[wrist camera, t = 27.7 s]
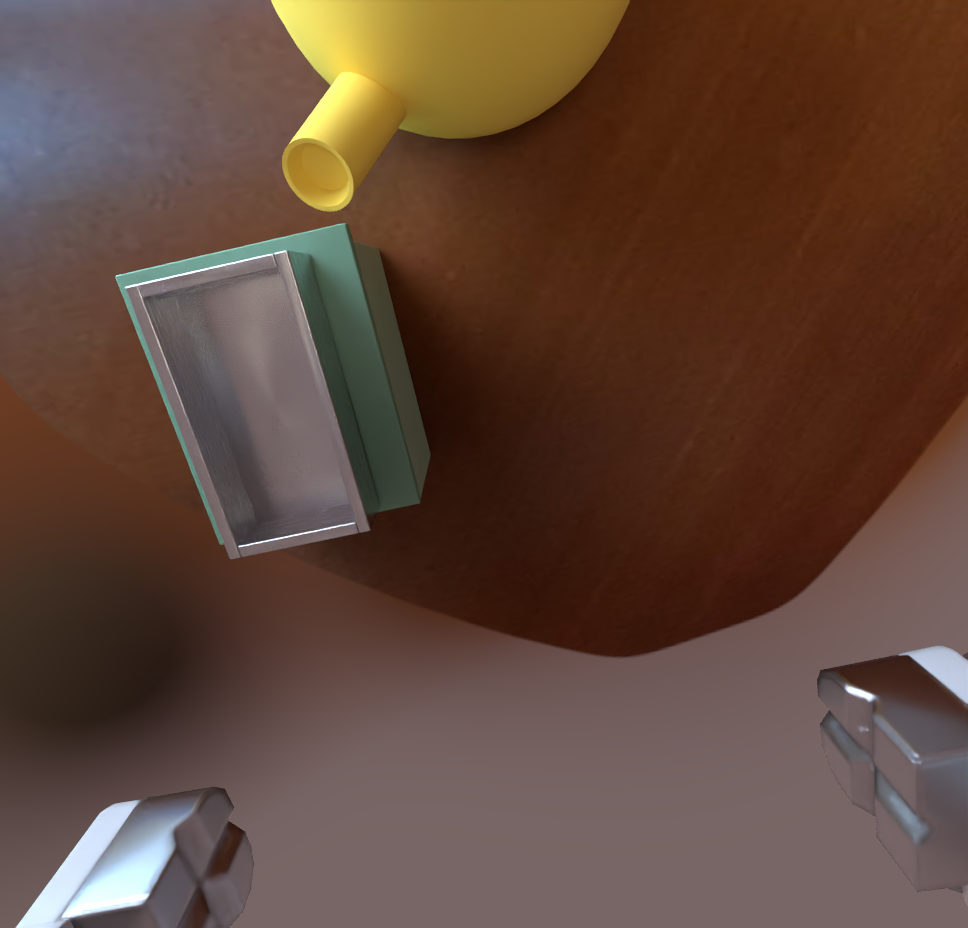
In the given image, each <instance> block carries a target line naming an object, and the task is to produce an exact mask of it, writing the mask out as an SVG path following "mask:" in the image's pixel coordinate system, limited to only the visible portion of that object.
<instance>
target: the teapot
mask: <svg viewBox="0 0 968 928" xmlns="http://www.w3.org/2000/svg"><path fill="white" fill-rule="evenodd" d="M271 1H272V3H273V5H274V8H275V10H276V12H277V14H278V15H279V17H280V18H281V20H282V22H283V23H284V25H285V27H286V28H287V30H288V32H289V33H290V35H291V37H292V38H293V40H294V42H295V43H296V45H297V46H298V48H299V49H300V50H301V52H302V53H303V54H304V56H305V57H306V58H307V60H308V61H309V62H310V63H311V65H312V66H313V67H314V69H315V70H316V71H317V72H318V73H319V74H320V75H321V76H322V77H323V78H324V79H325V80H326V81H327V82H328V83H329V84H330V85H331V87H330V88H329V90H328V91H327V92H326V94H325V95H324V97H323V98H322V99H321V101H320V102H319V104H318V105H317V106H316V108H315V109H314V110H313V112H312V113H311V115H310V116H309V117H308V119H307V120H306V121H305V123H304V124H303V126H302V127H301V128H300V130H299V131H298V132H297V134H296V135H295V137H294V138H293V139H292V141H291V142H290V143H289V145H288V146H287V147H286V149H285V151H284V153H283V158H282V166H283V172H284V175H285V178H286V180H287V182H288V184H289V185H290V187H291V189H292V190H293V191H294V192H295V194H296V195H297V196H298V197H299V198H300V199H301V200H303V201H304V202H305V203H307V204H308V205H310V206H312V207H314V208H316V209H319V210H322V211H336V210H340V209H342V208H343V207H345V206H346V205H347V204H348V203H349V202H350V200H351V199H352V197H353V196H354V194H355V193H356V191H357V190H358V188H359V187H360V185H361V184H362V182H363V180H364V179H365V177H366V176H367V174H368V173H369V171H370V170H371V168H372V167H373V165H374V164H375V162H376V161H377V159H378V158H379V156H380V155H381V153H382V152H383V150H384V149H385V147H386V146H387V144H388V143H389V141H390V140H391V138H392V137H393V135H394V134H395V132H396V130H397V129H398V128H399V129H402V130H406V131H409V132H413V133H417V134H420V135H424V136H431V137H439V138H447V139H455V138H475V137H481V136H486V135H492V134H496V133H499V132H502V131H505V130H508V129H511V128H514V127H517V126H519V125H521V124H523V123H525V122H527V121H529V120H531V119H533V118H535V117H537V116H539V115H540V114H542V113H543V112H545V111H546V110H547V109H549V108H550V107H552V106H553V105H555V104H556V103H558V102H559V101H560V100H561V99H562V98H563V97H564V96H565V95H567V94H568V93H569V92H570V91H571V90H572V89H573V88H575V87H576V86H577V84H578V83H579V82H580V81H581V80H582V79H583V78H584V76H585V75H586V74H587V73H588V72H589V71H590V70H591V68H592V67H593V66H594V64H595V63H596V62H597V60H598V59H599V57H600V56H601V54H602V53H603V51H604V50H605V48H606V47H607V45H608V44H609V42H610V40H611V38H612V36H613V34H614V33H615V31H616V29H617V27H618V25H619V23H620V21H621V19H622V17H623V15H624V13H625V11H626V9H627V7H628V4H629V2H630V0H271Z"/></svg>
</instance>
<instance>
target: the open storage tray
mask: <svg viewBox="0 0 968 928" xmlns="http://www.w3.org/2000/svg"><path fill="white" fill-rule="evenodd" d="M125 289H126V291H127V294H128V297H129V299H130V302H131V304H132V307H133V310H134V312H135V315H136V317H137V320H138V323H139V325H140V328H141V330H142V333H143V335H144V338H145V341H146V343H147V346H148V348H149V351H150V354H151V356H152V359H153V361H154V364H155V366H156V369H157V372H158V374H159V377H160V379H161V382H162V385H163V387H164V390H165V392H166V395H167V398H168V400H169V403H170V405H171V408H172V410H173V413H174V416H175V418H176V421H177V423H178V426H179V429H180V431H181V434H182V436H183V439H184V441H185V444H186V447H187V449H188V452H189V454H190V457H191V460H192V462H193V465H194V467H195V470H196V472H197V475H198V478H199V480H200V483H201V485H202V488H203V491H204V493H205V496H206V498H207V501H208V504H209V506H210V509H211V511H212V514H213V516H214V519H215V522H216V524H217V527H218V529H219V532H220V535H221V537H222V540H223V542H224V545H225V547H226V550H227V553H228V555H229V558H230V559H234V558H239V557H241V556H242V557H244V556H249V555H254V554H259V553H263V552H269V551H273V550H278V549H283V548H288V547H293V546H298V545H303V544H308V543H313V542H317V541H322V540H327V539H332V538H337V537H342V536H347V535H352V534H356V533H361V532H366V531H370V530H371V528H372V525H373V523H374V520H375V518H376V515H377V513H378V510H379V508H380V505H381V501H380V498H379V494H378V491H377V487H376V484H375V480H374V477H373V473H372V470H371V466H370V463H369V459H368V456H367V452H366V449H365V445H364V442H363V438H362V435H361V431H360V428H359V424H358V421H357V417H356V414H355V410H354V407H353V403H352V400H351V396H350V393H349V390H348V386H347V383H346V379H345V376H344V372H343V369H342V365H341V362H340V358H339V355H338V351H337V348H336V344H335V341H334V337H333V334H332V330H331V327H330V323H329V320H328V316H327V313H326V309H325V306H324V302H323V299H322V295H321V292H320V288H319V285H318V281H317V278H316V274H315V271H314V267H313V264H312V261H311V257H310V255H309V254H306V253H300V252H294V251H288V250H284V251H280V252H276V253H271V254H267V255H262V256H258V257H254V258H249V259H245V260H240V261H236V262H232V263H227V264H223V265H218V266H214V267H210V268H205V269H201V270H196V271H192V272H188V273H183V274H179V275H175V276H170V277H166V278H161V279H157V280H153V281H148V282H144V283H140V284H135V285H131V286H126V287H125Z"/></svg>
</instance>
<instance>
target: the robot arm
mask: <svg viewBox="0 0 968 928" xmlns="http://www.w3.org/2000/svg"><path fill="white" fill-rule="evenodd" d="M817 685H818V697H819V698H820V699H821V700H822V702H823V703H824V704H825V705H826V706H827V708H828V709H829V712H828V713H827V714H826V716H825V718H824V719H823V720H822V722H821V723H820V729H821V738H822V746H823V749H824V752H825V754H826V758H827V760H828V764H829V766H830V769H831V771H832V773H833V774H834V776H835V778H836V780H837V782H838V784H839V785H840V787H841V788H842V790H843V791H844V792H845V794H846V795H847V797H848V798H849V799H850V801H851V802H852V804H854V805H856V806H858V807H859V808H861V809H863V810H865V811H867V812H868V813H870V814H872V815H874V816H875V817H876V835H877V838H878V839H879V841H880V842H881V843H882V845H883V846H884V847H885V849H886V850H887V851H888V853H889V854H890V856H891V857H892V858H893V860H894V861H895V862H896V864H897V865H898V866H899V868H900V869H901V870H902V872H903V873H904V874H905V875H906V877H907V878H908V880H909V881H910V882H911V884H912V885H913V887H914V888H915V889H916V891H917V892H921V891H929V890H936V889H943V888H951V887H958V886H962V891H963V895H964V899H965V902H966V905H967V906H968V660H967V659H965V658H964V657H963V656H961V655H960V654H959V653H957V652H956V651H955V650H953V649H951V648H948V647H945V646H942V645H938V646H934V647H929V648H924V649H920V650H915V651H910V652H905V653H901V654H899V655H896V656H889V657H885V658H879V659H874V660H869V661H864V662H859V663H854V664H849V665H844V666H839V667H834V668H830V669H824V670H821V671H820V673H819V676H818V679H817ZM233 808H234V806H233V804H232V802H231V800H230V798H229V796H228V794H227V793H226V791H225V789H223V788H218V787H210V788H204V789H197V790H192V791H185V792H179V793H173V794H168V795H162V796H155V797H149V798H147V799H143V800H136V801H130V802H123V803H117V804H113V805H112V806H110V807H108V808H107V809H105V810H104V811H102V812H101V813H100V814H99V815H98V817H97V818H96V819H95V821H94V822H93V824H92V825H91V826H90V827H89V829H88V830H87V832H86V833H85V834H84V836H83V837H82V838H81V840H80V841H79V842H78V844H77V845H76V847H75V848H74V849H73V851H72V852H71V853H70V855H69V856H68V857H67V859H66V860H65V862H64V863H63V864H62V866H61V867H60V869H59V870H58V871H57V873H56V874H55V875H54V877H53V878H52V879H51V881H50V882H49V884H48V885H47V886H46V888H45V889H44V890H43V892H42V893H41V894H40V896H39V897H38V898H37V900H36V901H35V902H34V904H33V905H32V907H31V908H30V909H29V911H28V912H27V913H26V915H25V916H24V918H23V919H22V920H21V921H20V923H19V924H18V926H17V927H16V928H229V927H230V926H231V925H232V924H233V922H234V921H235V920H236V919H237V918H238V917H239V916H240V915H241V913H243V910H244V907H245V904H246V901H247V899H248V896H249V893H250V890H251V884H252V875H253V866H254V862H253V855H252V849H251V845H250V842H249V840H248V837H247V835H246V833H245V831H243V830H242V829H240V828H239V827H237V826H236V825H234V824H232V823H231V822H229V819H230V816H231V814H232V811H233Z"/></svg>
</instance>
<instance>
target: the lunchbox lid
mask: <svg viewBox="0 0 968 928" xmlns="http://www.w3.org/2000/svg"><path fill="white" fill-rule="evenodd" d="M284 250H288V251H294V252H300V253H306V254H309V255H310V257H311V261H312V264H313V267H314V271H315V274H316V278H317V281H318V285H319V288H320V292H321V295H322V299H323V302H324V306H325V309H326V313H327V316H328V320H329V323H330V327H331V330H332V334H333V337H334V341H335V344H336V348H337V351H338V355H339V358H340V362H341V365H342V369H343V372H344V376H345V379H346V383H347V386H348V390H349V393H350V396H351V400H352V403H353V407H354V410H355V414H356V417H357V421H358V424H359V428H360V431H361V435H362V438H363V442H364V445H365V449H366V452H367V456H368V459H369V463H370V466H371V470H372V473H373V477H374V480H375V484H376V487H377V491H378V494H379V498H380V501H381V505H380V508H379V510H378V512H381V511H386V510H391V509H395V508H400V507H405V506H410V505H415V504H419V503H420V500H421V495H420V492H419V488H418V484H417V480H416V476H415V473H414V469H413V465H412V461H411V457H410V454H409V450H408V446H407V442H406V439H405V435H404V431H403V427H402V423H401V420H400V416H399V412H398V408H397V405H396V401H395V397H394V393H393V389H392V386H391V382H390V378H389V374H388V371H387V367H386V363H385V359H384V355H383V352H382V348H381V344H380V340H379V337H378V333H377V329H376V325H375V321H374V318H373V314H372V310H371V306H370V303H369V299H368V295H367V291H366V287H365V284H364V280H363V276H362V272H361V269H360V265H359V261H358V257H357V253H356V250H355V246H354V242H353V238H352V234H351V231H350V227H349V225H348V224H346V223H342V224H337V225H333V226H329V227H324V228H320V229H316V230H311V231H307V232H303V233H298V234H294V235H290V236H285V237H281V238H277V239H272V240H268V241H264V242H259V243H255V244H251V245H246V246H242V247H238V248H233V249H229V250H225V251H220V252H216V253H212V254H207V255H203V256H199V257H194V258H190V259H186V260H181V261H177V262H173V263H168V264H164V265H160V266H155V267H151V268H147V269H142V270H138V271H134V272H129V273H125V274H121V275H117V276H116V280H117V282H118V285H119V288H120V290H121V293H122V295H123V298H124V300H125V303H126V305H127V308H128V311H129V313H130V316H131V318H132V321H133V323H134V326H135V328H136V331H137V334H138V336H139V339H140V341H141V344H142V346H143V349H144V351H145V354H146V357H147V359H148V362H149V364H150V367H151V369H152V372H153V374H154V377H155V380H156V382H157V385H158V387H159V390H160V392H161V395H162V397H163V400H164V403H165V405H166V408H167V410H168V413H169V415H170V418H171V420H172V423H173V426H174V428H175V431H176V433H177V436H178V438H179V441H180V443H181V446H182V449H183V451H184V454H185V456H186V459H187V461H188V464H189V466H190V469H191V472H192V474H193V477H194V479H195V482H196V484H197V487H198V490H199V492H200V495H201V497H202V500H203V502H204V505H205V507H206V510H207V513H208V515H209V518H210V520H211V523H212V525H213V528H214V530H215V533H216V535H217V538H218V541H219V543H220V544H221V545H222V544H224V542H223V540H222V537H221V535H220V532H219V529H218V527H217V524H216V522H215V519H214V516H213V514H212V511H211V509H210V506H209V504H208V501H207V498H206V496H205V493H204V491H203V488H202V485H201V483H200V480H199V478H198V475H197V472H196V470H195V467H194V465H193V462H192V460H191V457H190V454H189V452H188V449H187V447H186V444H185V441H184V439H183V436H182V434H181V431H180V429H179V426H178V423H177V421H176V418H175V416H174V413H173V410H172V408H171V405H170V403H169V400H168V398H167V395H166V392H165V390H164V387H163V385H162V382H161V379H160V377H159V374H158V372H157V369H156V366H155V364H154V361H153V359H152V356H151V354H150V351H149V348H148V346H147V343H146V341H145V338H144V335H143V333H142V330H141V328H140V325H139V323H138V320H137V317H136V315H135V312H134V310H133V307H132V304H131V302H130V299H129V297H128V294H127V291H126V289H125V287H126V286H131V285H135V284H140V283H144V282H148V281H153V280H157V279H161V278H166V277H170V276H175V275H179V274H183V273H188V272H192V271H196V270H201V269H205V268H210V267H214V266H218V265H223V264H227V263H232V262H236V261H240V260H245V259H249V258H254V257H258V256H262V255H267V254H271V253H276V252H280V251H284Z"/></svg>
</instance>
